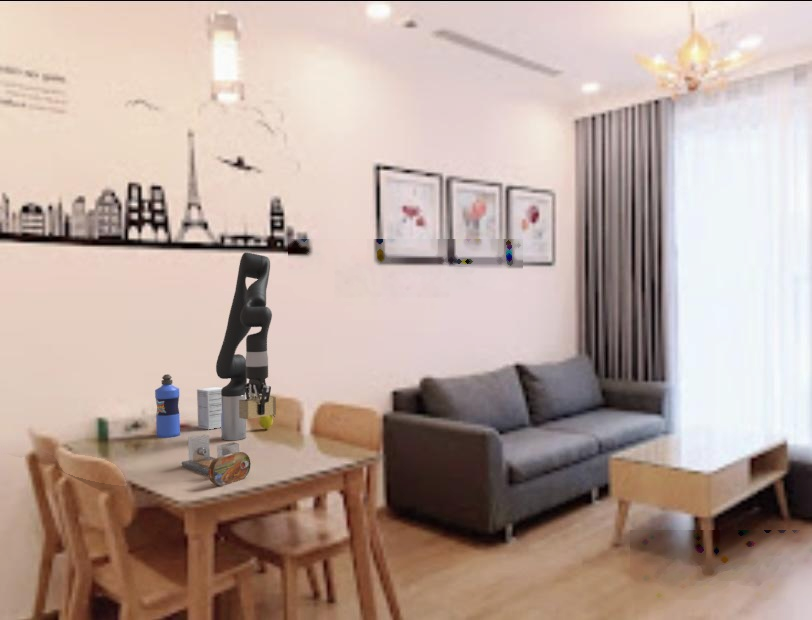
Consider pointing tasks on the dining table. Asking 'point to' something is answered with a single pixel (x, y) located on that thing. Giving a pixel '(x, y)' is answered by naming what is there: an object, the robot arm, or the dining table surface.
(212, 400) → the supplement box
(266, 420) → the lemon
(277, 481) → the dining table surface
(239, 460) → the tin
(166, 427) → the water bottle
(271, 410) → the block
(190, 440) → the stand
